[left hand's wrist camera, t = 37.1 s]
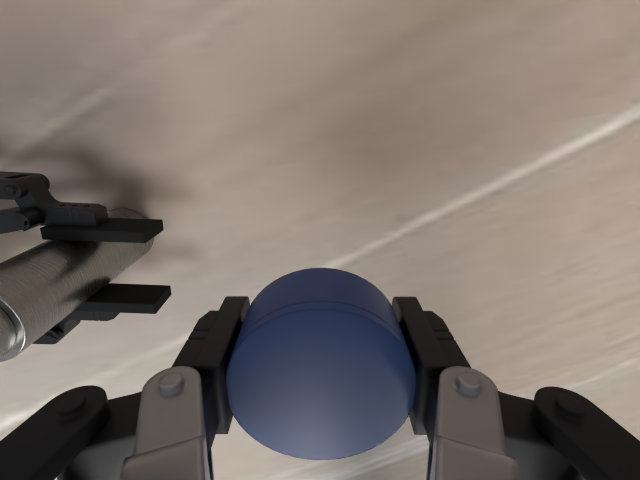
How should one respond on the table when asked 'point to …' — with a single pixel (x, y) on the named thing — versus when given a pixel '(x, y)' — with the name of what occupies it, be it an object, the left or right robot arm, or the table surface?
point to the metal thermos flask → (57, 283)
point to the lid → (320, 366)
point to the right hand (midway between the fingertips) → (158, 266)
